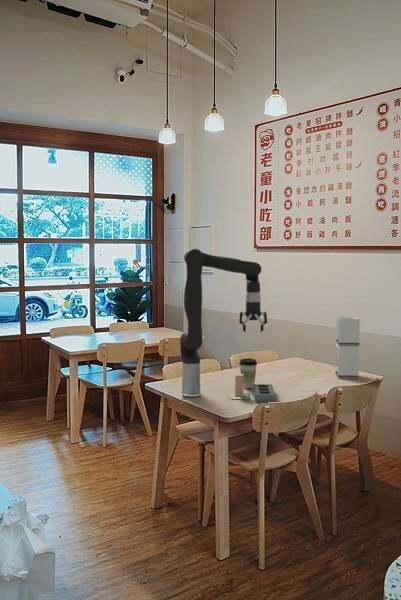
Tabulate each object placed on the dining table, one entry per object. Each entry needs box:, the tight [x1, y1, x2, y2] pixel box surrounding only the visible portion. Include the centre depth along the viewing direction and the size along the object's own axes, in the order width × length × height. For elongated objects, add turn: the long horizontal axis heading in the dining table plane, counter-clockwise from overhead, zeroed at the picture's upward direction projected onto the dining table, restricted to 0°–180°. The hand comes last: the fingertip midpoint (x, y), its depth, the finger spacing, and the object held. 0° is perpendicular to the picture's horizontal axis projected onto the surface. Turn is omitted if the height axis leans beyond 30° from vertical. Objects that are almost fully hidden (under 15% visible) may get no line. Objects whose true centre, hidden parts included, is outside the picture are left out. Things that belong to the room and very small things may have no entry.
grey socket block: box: [252, 383, 277, 403], centre depth 271 cm, size 10×20×4 cm, turn 178°
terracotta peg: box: [234, 373, 244, 397], centre depth 272 cm, size 4×4×11 cm
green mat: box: [240, 392, 250, 400], centre depth 272 cm, size 10×10×1 cm
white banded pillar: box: [334, 315, 361, 380], centre depth 312 cm, size 11×11×35 cm
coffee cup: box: [238, 358, 258, 389], centre depth 290 cm, size 10×10×15 cm
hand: (253, 331), depth 278 cm, fingers open, 8 cm apart
